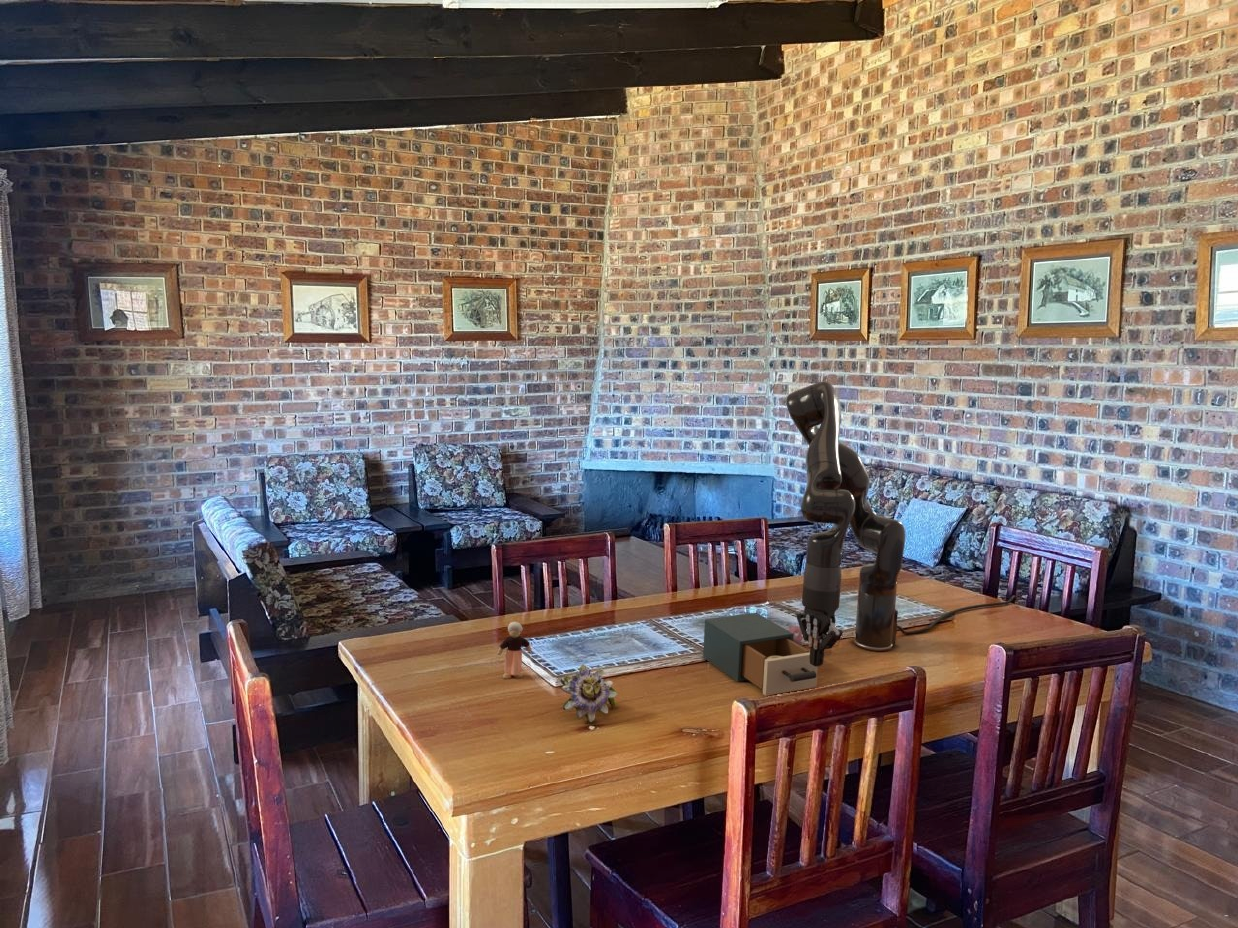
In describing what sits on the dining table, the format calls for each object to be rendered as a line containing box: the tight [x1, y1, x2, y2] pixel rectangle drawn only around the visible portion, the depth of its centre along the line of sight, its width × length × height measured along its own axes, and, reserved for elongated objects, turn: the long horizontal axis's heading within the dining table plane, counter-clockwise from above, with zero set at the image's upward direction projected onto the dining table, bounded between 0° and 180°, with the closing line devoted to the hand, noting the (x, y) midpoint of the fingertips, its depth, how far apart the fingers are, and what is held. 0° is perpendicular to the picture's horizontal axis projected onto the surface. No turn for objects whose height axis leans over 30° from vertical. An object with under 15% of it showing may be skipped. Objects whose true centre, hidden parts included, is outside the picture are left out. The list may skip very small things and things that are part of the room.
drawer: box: [741, 638, 819, 696], centre depth 195 cm, size 19×13×8 cm
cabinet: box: [702, 612, 794, 683], centre depth 206 cm, size 16×15×10 cm
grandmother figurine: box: [496, 620, 533, 680], centre depth 196 cm, size 8×4×13 cm, turn 117°
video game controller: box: [787, 624, 804, 647], centre depth 218 cm, size 10×5×7 cm, turn 168°
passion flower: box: [559, 663, 618, 723], centre depth 179 cm, size 11×11×12 cm
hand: (815, 664), depth 182 cm, fingers closed
